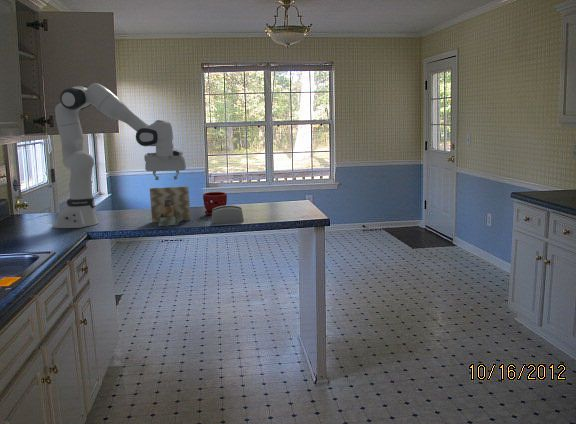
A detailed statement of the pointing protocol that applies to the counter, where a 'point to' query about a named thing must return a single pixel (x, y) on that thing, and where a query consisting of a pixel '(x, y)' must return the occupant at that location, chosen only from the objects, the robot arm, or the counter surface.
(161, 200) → the patterned box
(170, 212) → the brown bottle
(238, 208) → the grey arched block
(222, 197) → the plant pot
